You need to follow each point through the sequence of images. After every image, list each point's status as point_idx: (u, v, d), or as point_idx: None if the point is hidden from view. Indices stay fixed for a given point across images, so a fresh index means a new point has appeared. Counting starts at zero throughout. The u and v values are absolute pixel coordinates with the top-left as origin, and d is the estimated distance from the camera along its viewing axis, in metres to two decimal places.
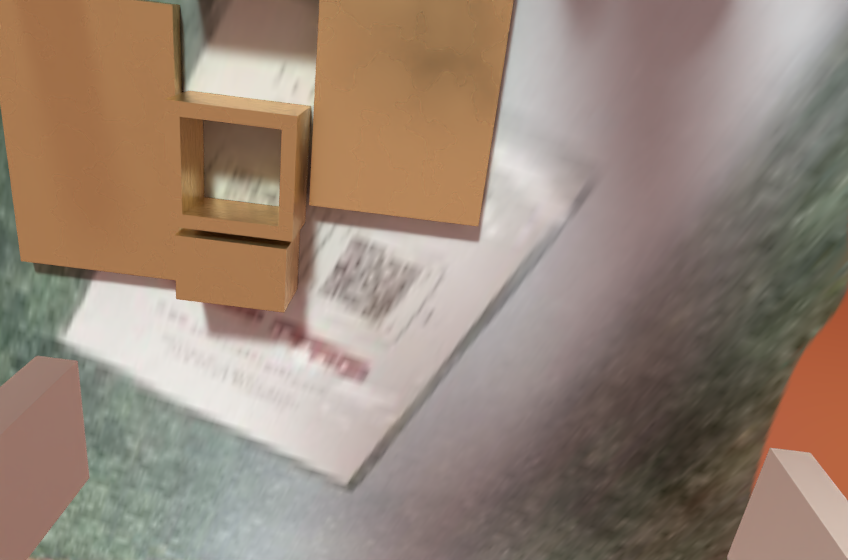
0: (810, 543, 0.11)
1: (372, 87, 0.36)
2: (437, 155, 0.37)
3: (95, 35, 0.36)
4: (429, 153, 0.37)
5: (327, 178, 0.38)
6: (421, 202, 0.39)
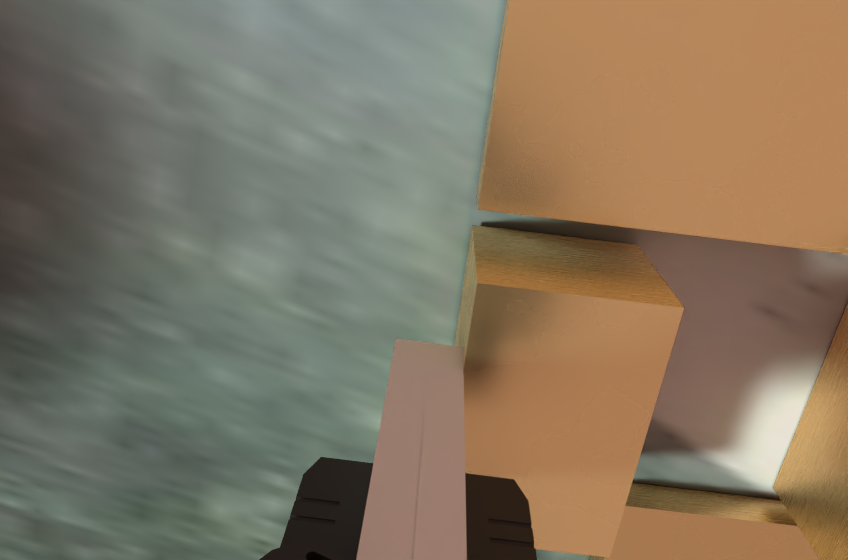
0: None
1: None
2: None
3: None
4: None
5: None
6: None
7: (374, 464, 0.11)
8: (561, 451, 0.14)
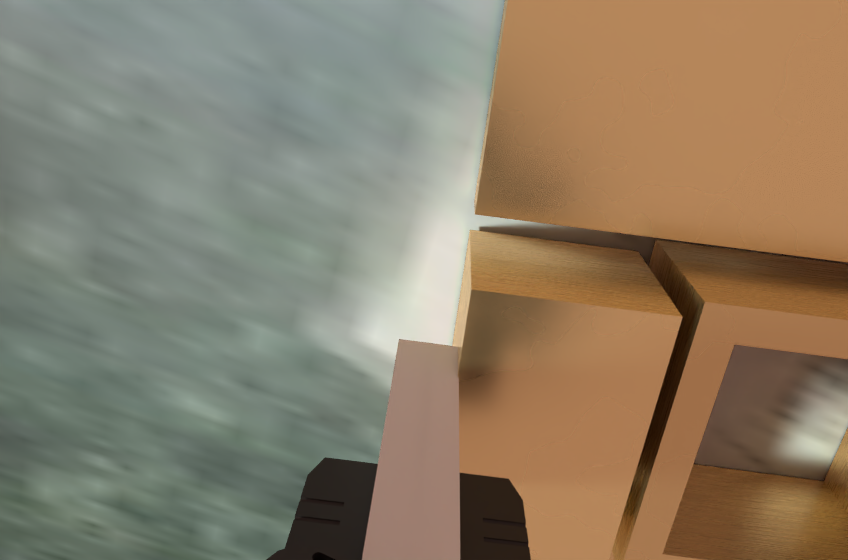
0: None
1: None
2: None
3: None
4: None
5: None
6: None
7: (378, 465, 0.11)
8: (557, 460, 0.14)
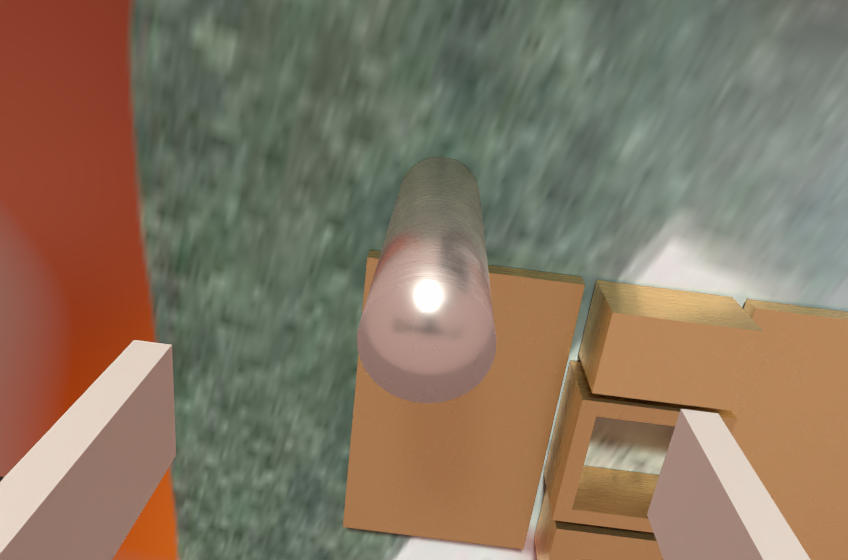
0: (706, 492, 0.12)
1: (762, 473, 0.34)
2: (817, 531, 0.35)
3: None
4: (808, 529, 0.35)
5: None
6: None
7: None
8: (663, 368, 0.29)
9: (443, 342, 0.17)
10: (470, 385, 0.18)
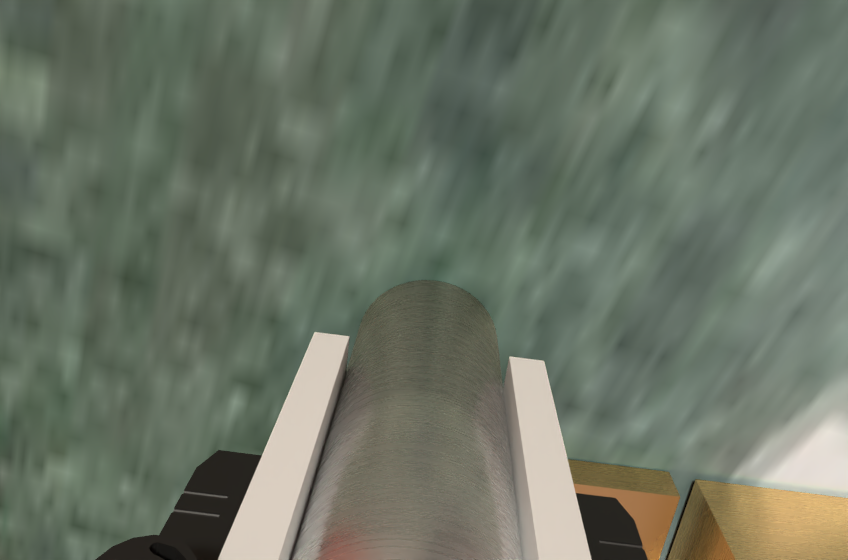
0: (512, 426, 0.13)
1: None
2: None
3: None
4: None
5: None
6: None
7: (262, 457, 0.10)
8: None
9: None
10: None
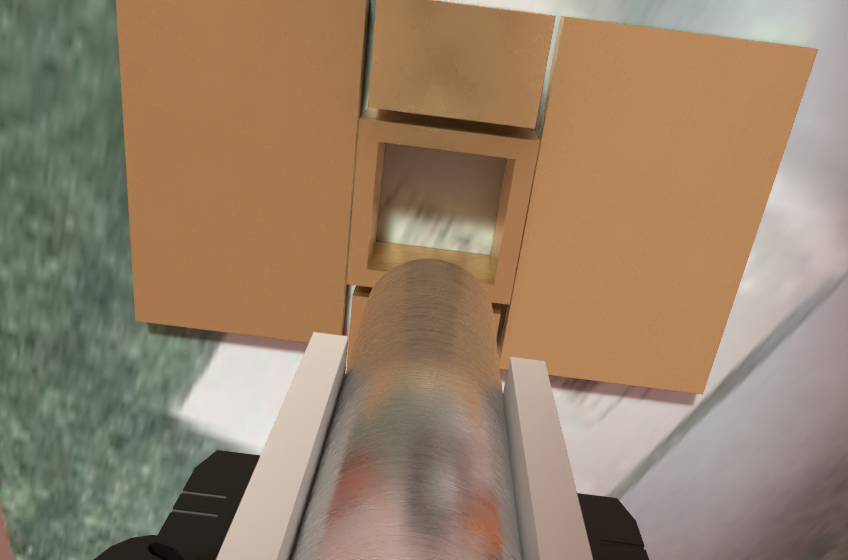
0: (513, 426, 0.13)
1: (594, 240, 0.29)
2: (664, 316, 0.31)
3: (258, 31, 0.27)
4: (654, 313, 0.31)
5: (525, 339, 0.32)
6: (636, 367, 0.32)
7: (261, 457, 0.10)
8: (445, 71, 0.25)
9: None
10: None
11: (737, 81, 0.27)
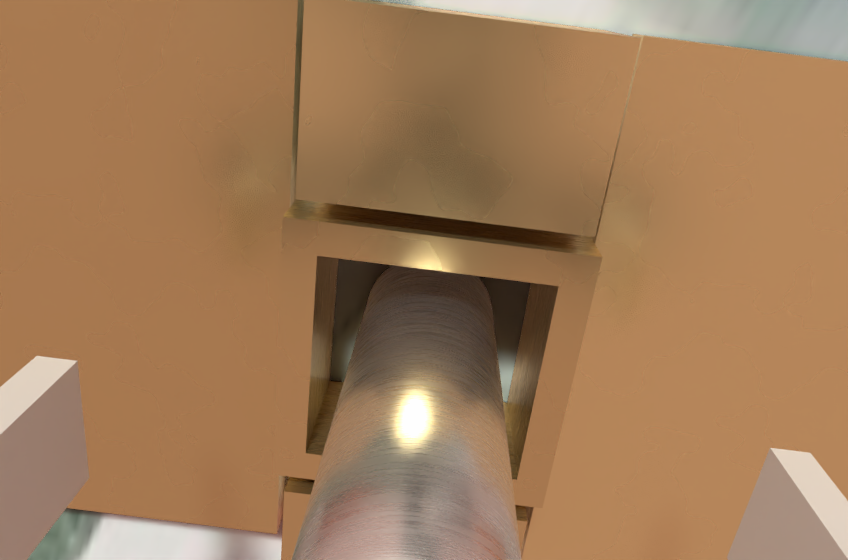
0: (810, 543, 0.11)
1: (676, 391, 0.18)
2: None
3: (116, 60, 0.16)
4: None
5: (561, 530, 0.20)
6: None
7: None
8: (434, 137, 0.13)
9: None
10: None
11: None
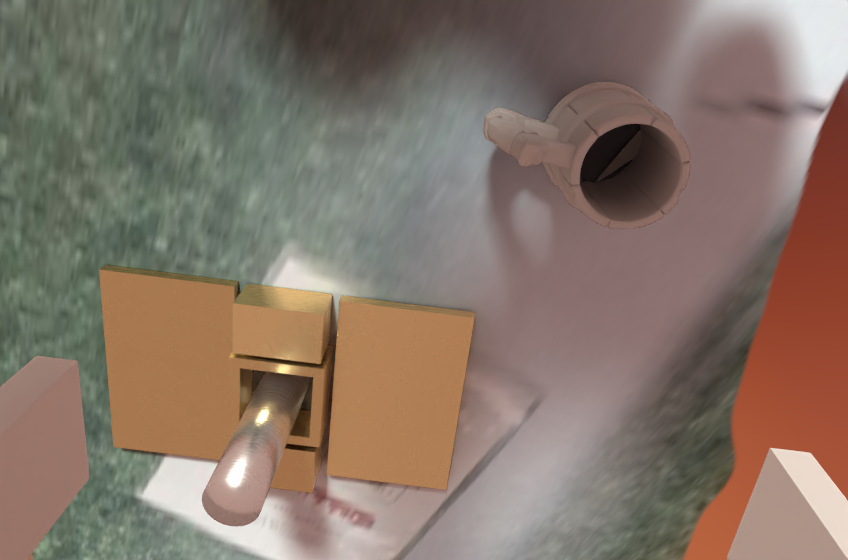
0: (810, 543, 0.11)
1: (371, 407, 0.52)
2: (416, 447, 0.54)
3: (177, 304, 0.50)
4: (411, 446, 0.54)
5: (339, 459, 0.54)
6: (406, 474, 0.55)
7: None
8: (271, 337, 0.47)
9: (238, 502, 0.40)
10: (252, 519, 0.41)
11: (435, 332, 0.49)
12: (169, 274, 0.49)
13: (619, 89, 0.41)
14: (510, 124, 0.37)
